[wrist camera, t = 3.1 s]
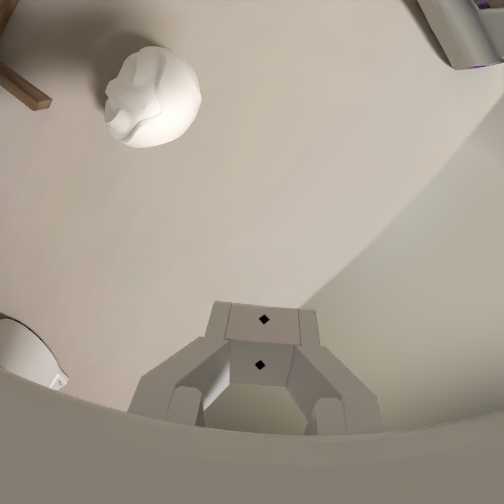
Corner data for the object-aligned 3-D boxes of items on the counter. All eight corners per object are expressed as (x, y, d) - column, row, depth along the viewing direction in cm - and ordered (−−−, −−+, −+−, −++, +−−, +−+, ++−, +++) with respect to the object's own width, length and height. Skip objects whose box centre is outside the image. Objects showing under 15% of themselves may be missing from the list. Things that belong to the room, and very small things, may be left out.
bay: (48, 108, 24) (33, 110, 22) (-16, 60, 20) (-29, 61, 18) (128, -21, 18) (116, -28, 16) (46, -49, 14) (34, -54, 12)
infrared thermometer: (525, 42, 17) (452, 79, 21) (472, -50, 13) (382, -31, 16) (552, 41, 13) (481, 79, 17) (495, -60, 8) (403, -49, 12)
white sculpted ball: (151, 42, 21) (110, 27, 14) (227, 74, 23) (209, 65, 16) (114, 120, 25) (66, 133, 18) (184, 154, 26) (153, 177, 19)
